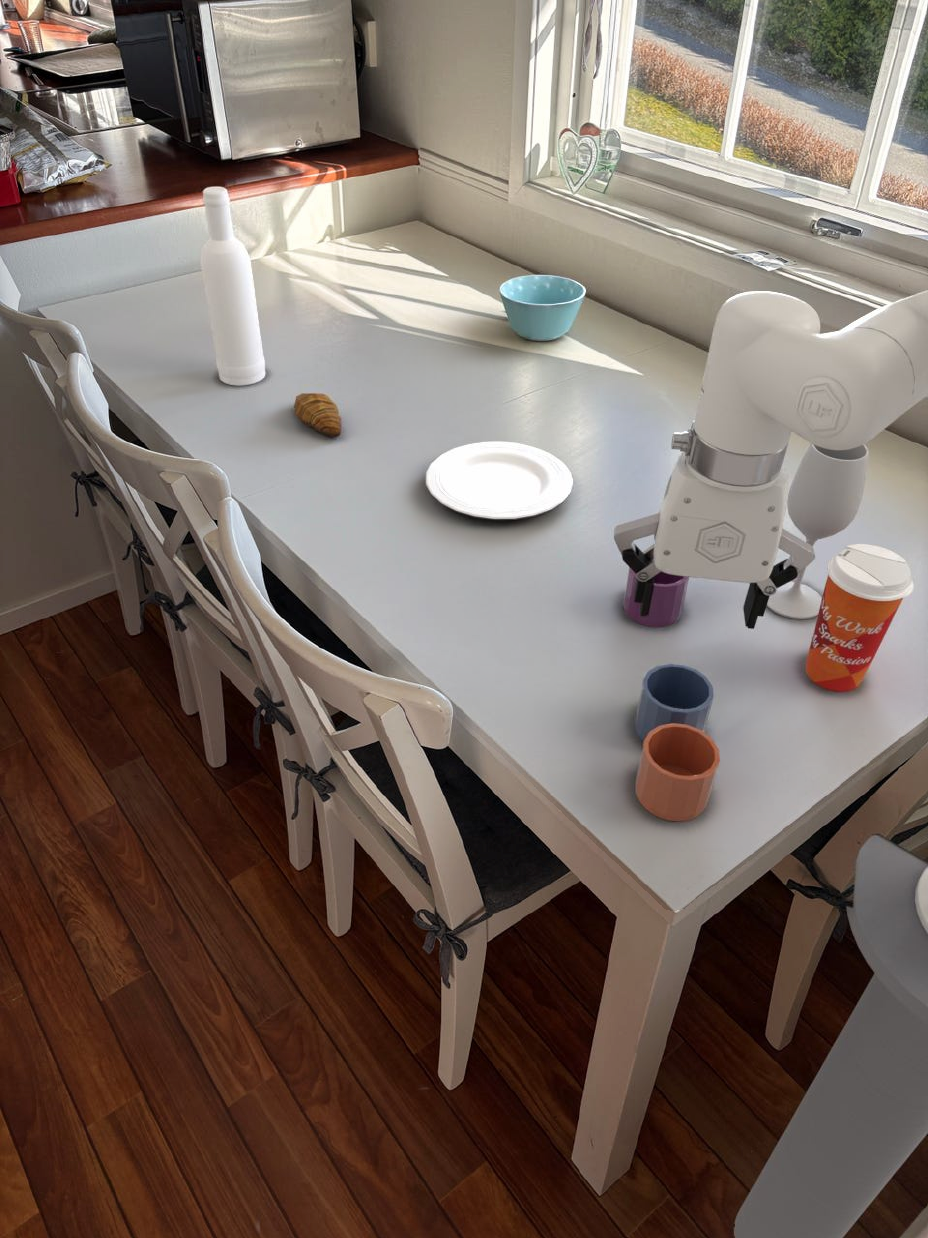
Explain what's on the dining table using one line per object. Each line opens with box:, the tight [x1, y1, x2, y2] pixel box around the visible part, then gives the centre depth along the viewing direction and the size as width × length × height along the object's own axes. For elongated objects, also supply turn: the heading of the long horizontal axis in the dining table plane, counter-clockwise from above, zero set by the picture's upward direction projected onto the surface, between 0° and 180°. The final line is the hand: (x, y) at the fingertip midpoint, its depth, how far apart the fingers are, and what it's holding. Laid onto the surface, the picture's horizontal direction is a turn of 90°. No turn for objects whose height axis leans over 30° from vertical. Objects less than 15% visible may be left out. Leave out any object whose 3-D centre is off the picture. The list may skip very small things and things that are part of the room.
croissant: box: [293, 392, 342, 438], centre depth 144 cm, size 14×7×5 cm, turn 32°
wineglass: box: [766, 442, 870, 620], centre depth 105 cm, size 8×8×21 cm
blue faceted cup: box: [634, 663, 715, 743], centre depth 93 cm, size 7×7×6 cm
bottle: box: [199, 186, 266, 387], centre depth 148 cm, size 8×8×30 cm
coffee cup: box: [805, 543, 915, 693], centre depth 97 cm, size 8×8×15 cm
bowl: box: [498, 274, 587, 342], centre depth 171 cm, size 16×16×8 cm
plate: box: [425, 441, 574, 521], centre depth 130 cm, size 21×21×2 cm
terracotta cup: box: [634, 723, 721, 822], centre depth 87 cm, size 7×7×6 cm
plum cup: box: [622, 566, 690, 628], centre depth 109 cm, size 7×7×6 cm
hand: (695, 613), depth 86 cm, fingers open, 9 cm apart
